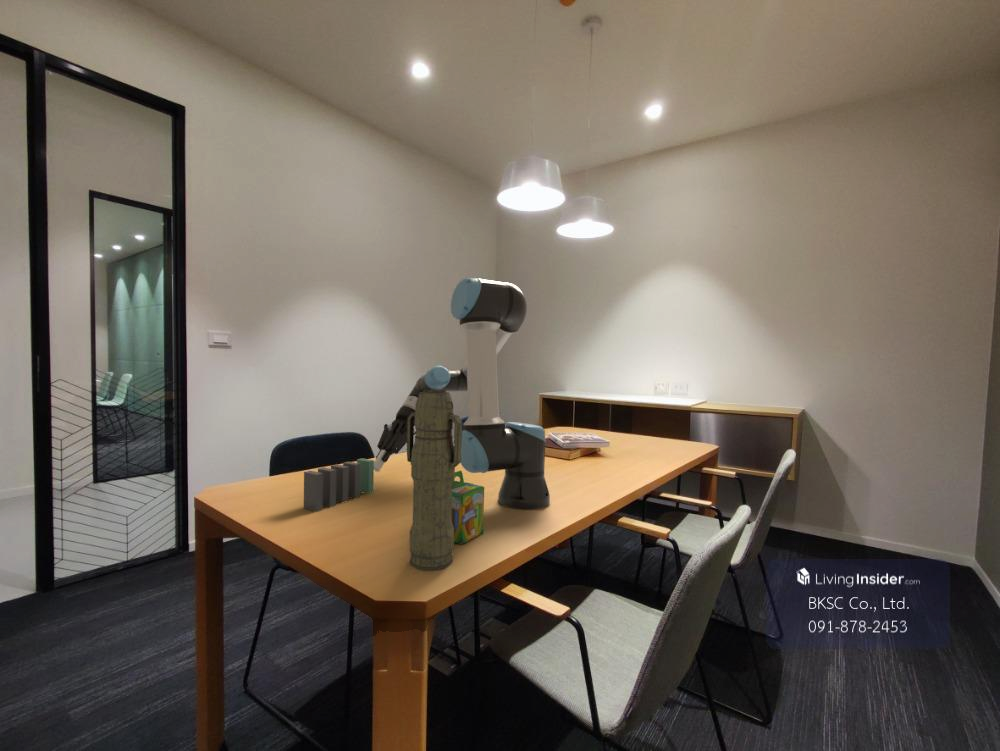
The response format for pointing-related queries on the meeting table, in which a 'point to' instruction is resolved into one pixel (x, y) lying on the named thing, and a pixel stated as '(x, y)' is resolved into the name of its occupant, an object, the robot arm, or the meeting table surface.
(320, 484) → the domino
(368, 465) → the green domino
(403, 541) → the meeting table surface
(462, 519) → the chalk box
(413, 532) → the thermos
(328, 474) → the domino
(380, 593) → the meeting table surface
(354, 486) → the domino
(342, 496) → the domino
